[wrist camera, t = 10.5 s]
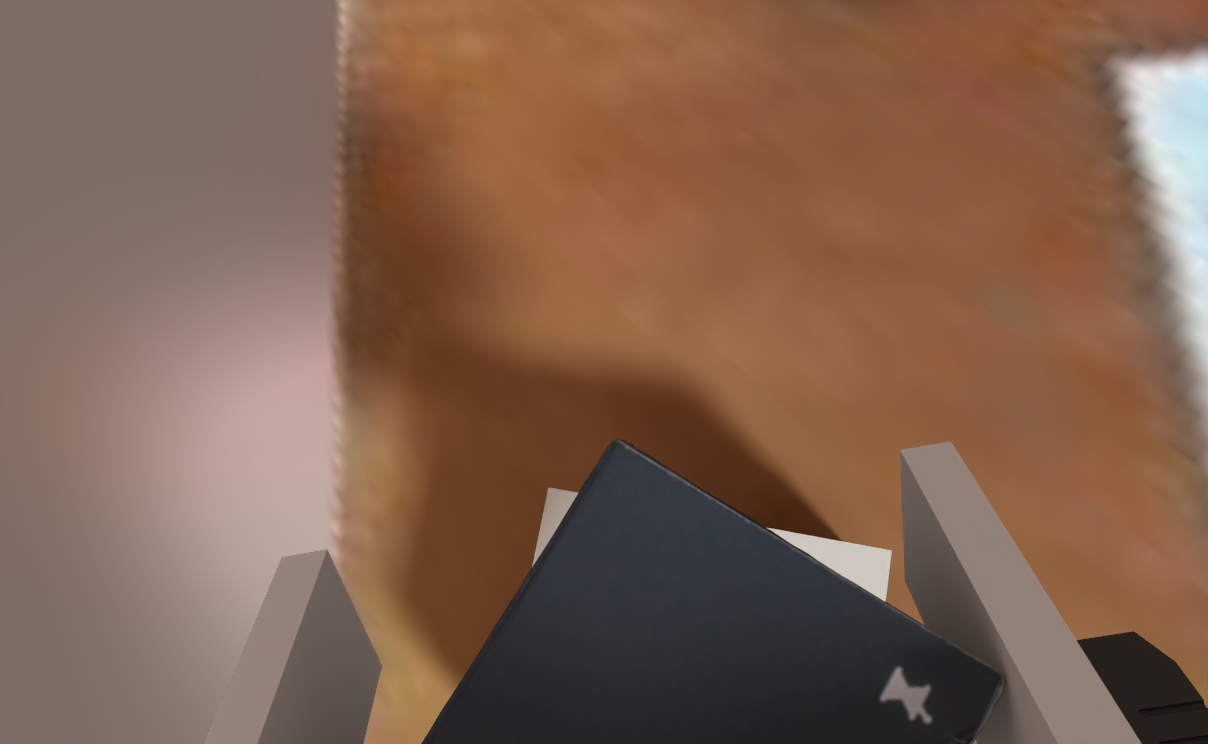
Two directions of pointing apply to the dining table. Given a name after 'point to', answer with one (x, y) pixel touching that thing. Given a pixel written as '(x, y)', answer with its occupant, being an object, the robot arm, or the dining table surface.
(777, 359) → the dining table surface
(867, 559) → the tower top
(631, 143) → the dining table surface
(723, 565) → the box
